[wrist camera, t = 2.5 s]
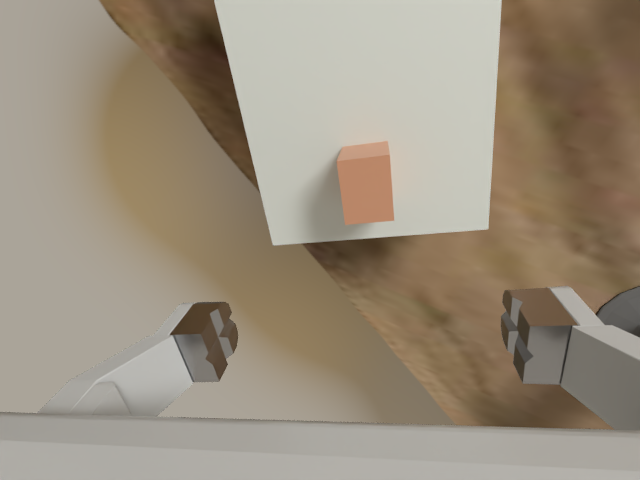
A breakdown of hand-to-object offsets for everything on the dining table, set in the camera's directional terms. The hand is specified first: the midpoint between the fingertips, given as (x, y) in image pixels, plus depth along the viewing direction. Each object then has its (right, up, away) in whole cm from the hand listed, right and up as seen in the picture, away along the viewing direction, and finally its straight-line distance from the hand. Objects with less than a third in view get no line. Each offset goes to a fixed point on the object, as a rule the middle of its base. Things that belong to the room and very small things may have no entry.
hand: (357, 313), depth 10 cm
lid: (+1, +13, +12) cm, 17 cm away
